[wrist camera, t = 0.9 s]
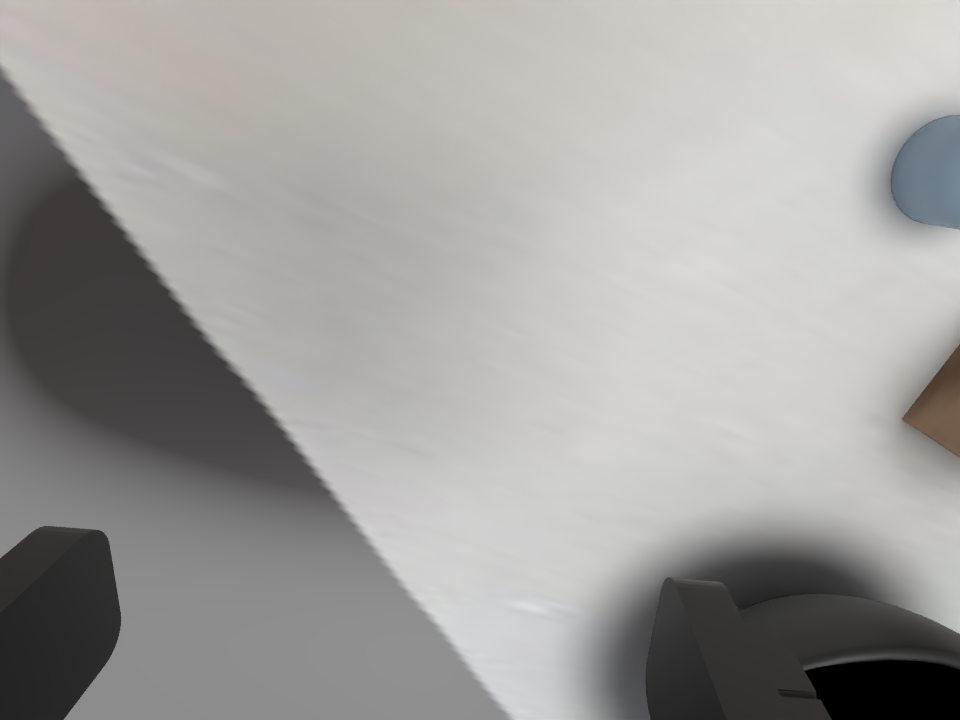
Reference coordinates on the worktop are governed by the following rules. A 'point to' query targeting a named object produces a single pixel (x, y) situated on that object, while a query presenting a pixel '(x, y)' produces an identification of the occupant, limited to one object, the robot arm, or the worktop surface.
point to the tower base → (940, 406)
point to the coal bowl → (868, 656)
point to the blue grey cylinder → (930, 174)
